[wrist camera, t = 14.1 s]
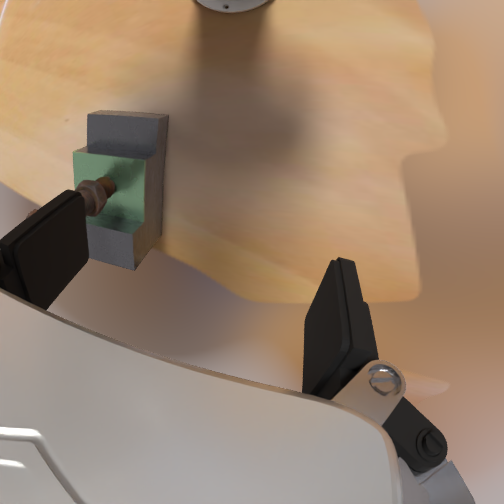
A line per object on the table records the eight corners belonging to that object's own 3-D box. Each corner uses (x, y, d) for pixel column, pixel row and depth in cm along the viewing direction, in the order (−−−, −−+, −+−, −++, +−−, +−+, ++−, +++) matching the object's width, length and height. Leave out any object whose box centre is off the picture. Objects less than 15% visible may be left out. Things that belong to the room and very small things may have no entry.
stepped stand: (98, 110, 40) (55, 124, 31) (168, 115, 39) (133, 128, 30) (101, 221, 51) (68, 251, 42) (161, 234, 50) (134, 270, 41)
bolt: (128, 198, 39) (64, 258, 27) (103, 208, 41) (39, 266, 28) (112, 160, 37) (38, 208, 24) (87, 172, 38) (15, 221, 25)
